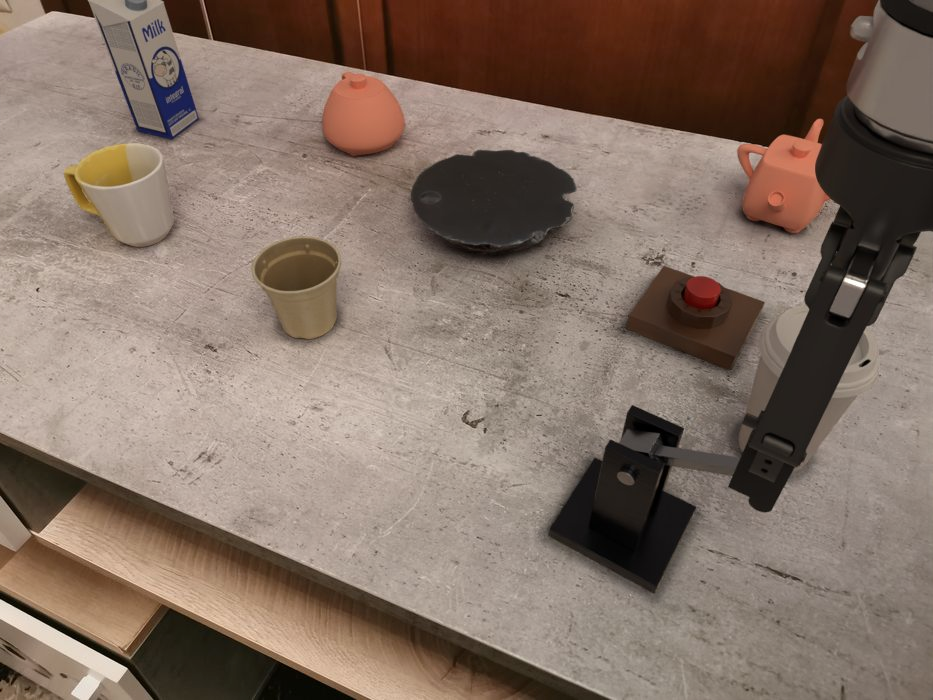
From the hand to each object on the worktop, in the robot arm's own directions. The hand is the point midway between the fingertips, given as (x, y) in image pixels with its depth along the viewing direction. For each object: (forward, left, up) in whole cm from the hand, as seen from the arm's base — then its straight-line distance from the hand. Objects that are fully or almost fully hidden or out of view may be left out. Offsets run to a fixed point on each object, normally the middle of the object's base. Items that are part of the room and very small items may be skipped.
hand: (784, 417), depth 47 cm
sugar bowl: (+69, -40, -20) cm, 82 cm away
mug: (+80, -6, -20) cm, 83 cm away
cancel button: (+12, -28, -17) cm, 34 cm away
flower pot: (+49, -5, -20) cm, 53 cm away
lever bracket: (+8, 0, -20) cm, 22 cm away
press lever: (+3, 0, -8) cm, 9 cm away
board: (+41, -32, -20) cm, 56 cm away
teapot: (+10, -54, -20) cm, 58 cm away
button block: (+12, -28, -20) cm, 36 cm away
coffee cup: (-1, -15, -20) cm, 25 cm away
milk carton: (+98, -27, -20) cm, 104 cm away
